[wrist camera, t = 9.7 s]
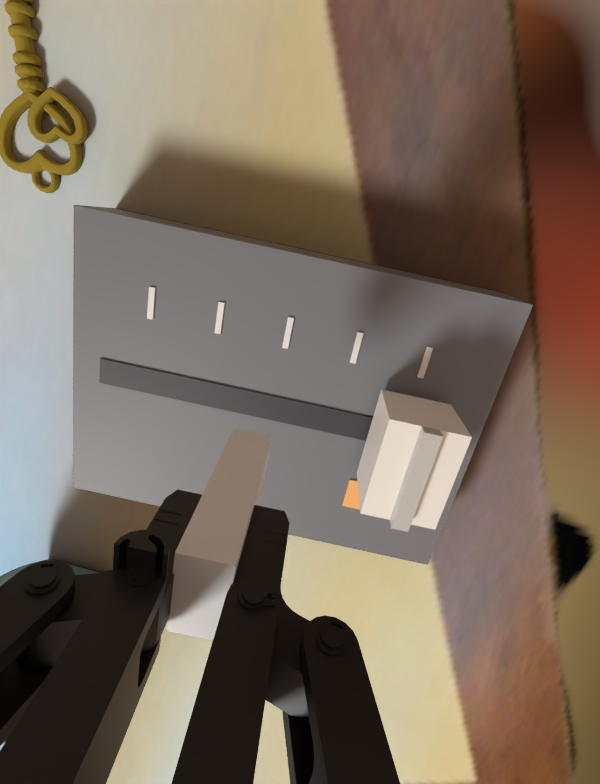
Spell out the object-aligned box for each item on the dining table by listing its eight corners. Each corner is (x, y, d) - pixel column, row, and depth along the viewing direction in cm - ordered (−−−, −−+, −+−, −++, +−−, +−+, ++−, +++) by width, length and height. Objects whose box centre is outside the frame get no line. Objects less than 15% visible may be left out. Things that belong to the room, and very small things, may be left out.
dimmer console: (114, 208, 24) (72, 204, 20) (502, 292, 24) (534, 305, 20) (106, 454, 30) (72, 488, 26) (416, 522, 30) (428, 565, 26)
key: (-57, -110, 19) (54, -107, 18) (-34, -90, 20) (71, -87, 20) (1, 190, 23) (91, 195, 23) (17, 191, 24) (102, 196, 24)
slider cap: (381, 389, 22) (391, 425, 18) (450, 404, 22) (476, 443, 18) (356, 472, 23) (360, 521, 19) (421, 486, 23) (437, 538, 19)
